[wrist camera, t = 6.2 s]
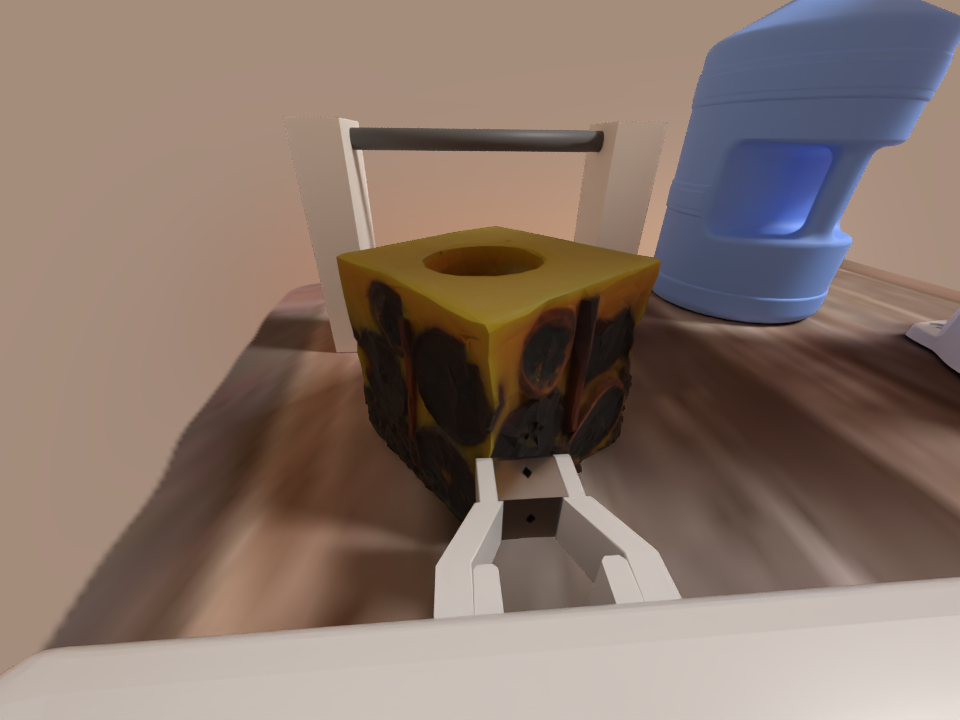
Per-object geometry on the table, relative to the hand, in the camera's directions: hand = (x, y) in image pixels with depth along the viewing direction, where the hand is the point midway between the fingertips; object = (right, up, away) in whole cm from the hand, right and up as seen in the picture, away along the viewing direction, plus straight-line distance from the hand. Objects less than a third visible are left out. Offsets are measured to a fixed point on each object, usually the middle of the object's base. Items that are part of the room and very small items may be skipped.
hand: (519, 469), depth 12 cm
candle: (-1, -1, +9) cm, 9 cm away
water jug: (+25, +10, +27) cm, 38 cm away
